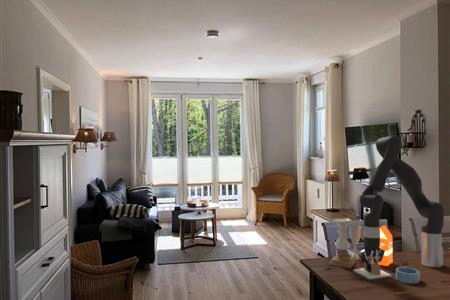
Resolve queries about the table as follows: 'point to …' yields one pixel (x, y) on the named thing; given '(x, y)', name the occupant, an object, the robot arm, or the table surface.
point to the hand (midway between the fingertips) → (372, 270)
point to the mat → (373, 278)
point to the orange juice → (386, 246)
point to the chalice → (355, 238)
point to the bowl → (407, 275)
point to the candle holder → (342, 245)
